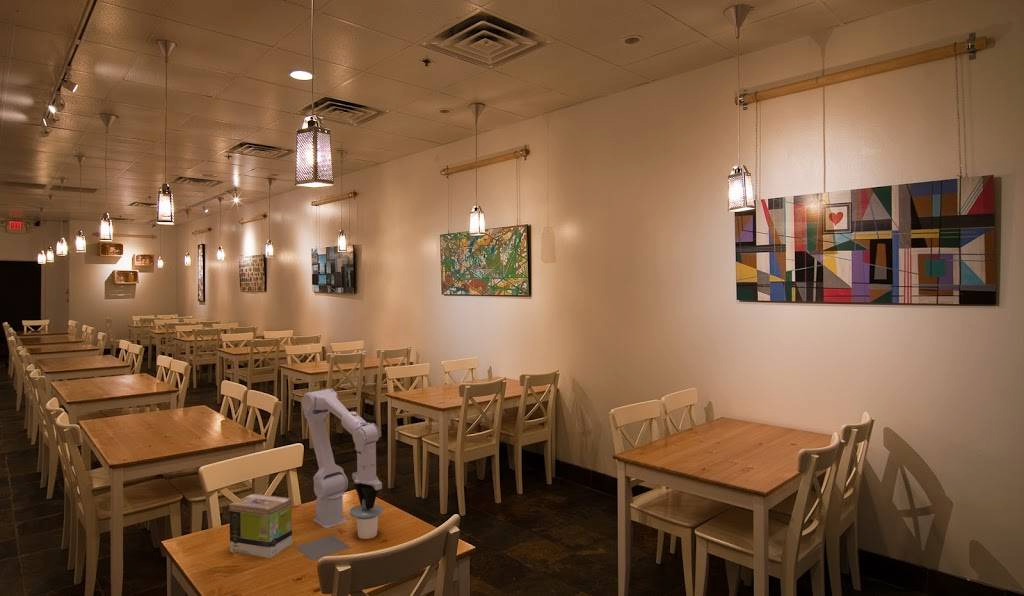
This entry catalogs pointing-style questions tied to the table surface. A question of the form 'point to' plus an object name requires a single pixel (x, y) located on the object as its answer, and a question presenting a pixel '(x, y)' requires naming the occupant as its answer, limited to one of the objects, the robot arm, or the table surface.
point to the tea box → (260, 525)
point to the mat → (322, 547)
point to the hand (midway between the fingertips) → (367, 506)
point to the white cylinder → (367, 527)
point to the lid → (365, 511)
